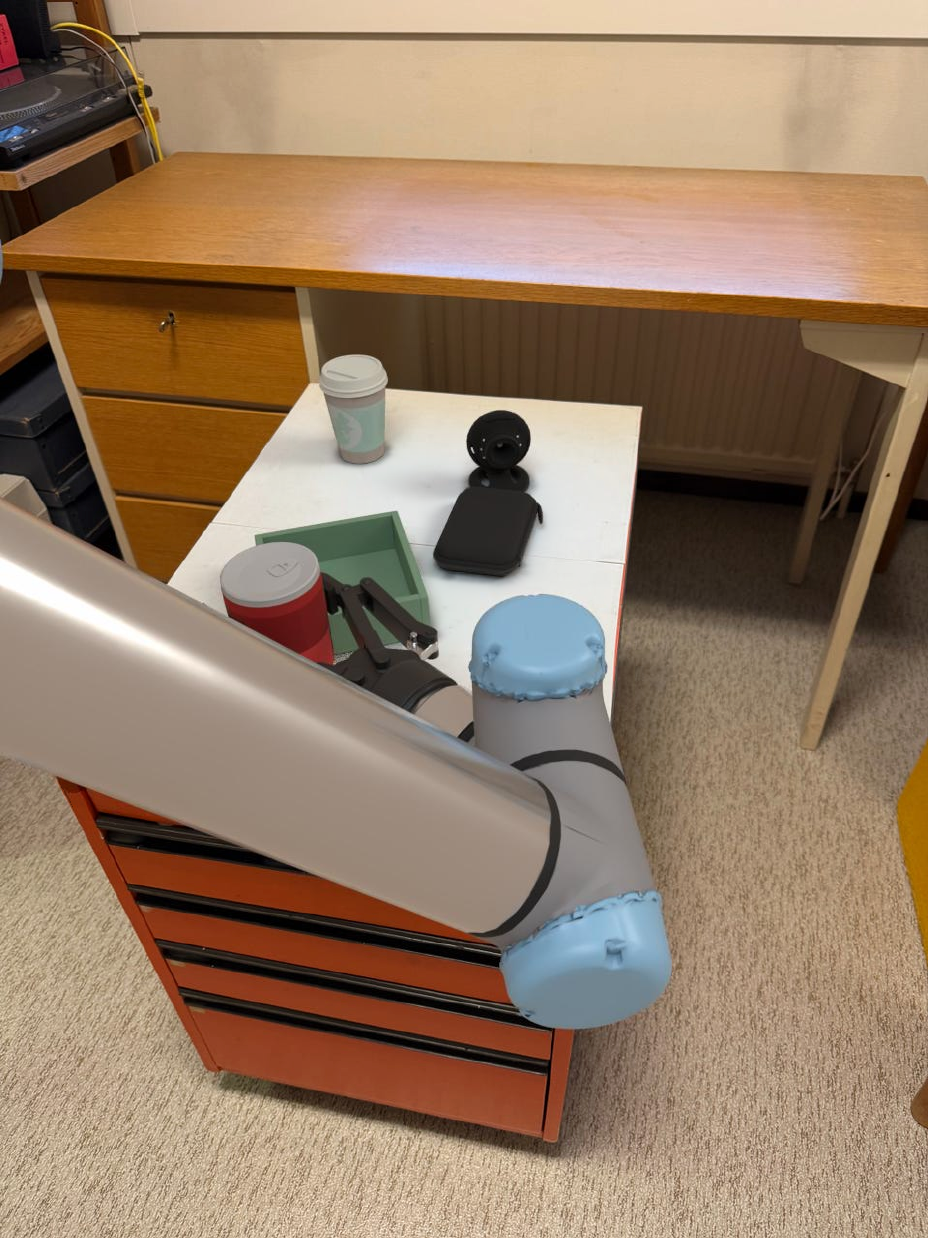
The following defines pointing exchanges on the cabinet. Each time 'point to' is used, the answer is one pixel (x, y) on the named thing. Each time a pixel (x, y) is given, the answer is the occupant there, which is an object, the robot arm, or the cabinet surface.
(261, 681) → the robot arm
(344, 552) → the tote
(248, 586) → the canned food
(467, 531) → the carrying case
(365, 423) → the coffee cup
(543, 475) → the cabinet surface
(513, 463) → the webcam
